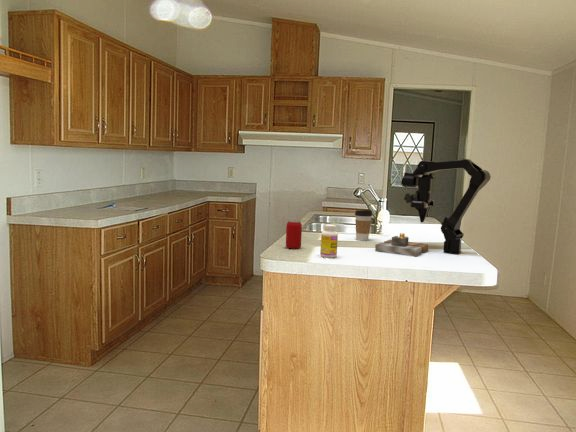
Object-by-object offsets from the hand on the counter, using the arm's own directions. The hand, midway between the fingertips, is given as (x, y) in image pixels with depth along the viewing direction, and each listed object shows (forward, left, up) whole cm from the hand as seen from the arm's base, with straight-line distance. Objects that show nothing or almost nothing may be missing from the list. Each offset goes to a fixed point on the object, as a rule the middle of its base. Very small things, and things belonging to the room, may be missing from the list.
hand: (422, 222), depth 226 cm
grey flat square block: (+4, +14, -12) cm, 19 cm away
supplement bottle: (+23, +48, -12) cm, 55 cm away
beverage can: (+44, +41, -12) cm, 61 cm away
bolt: (+4, +15, -9) cm, 18 cm away
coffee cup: (+30, -2, -12) cm, 32 cm away
